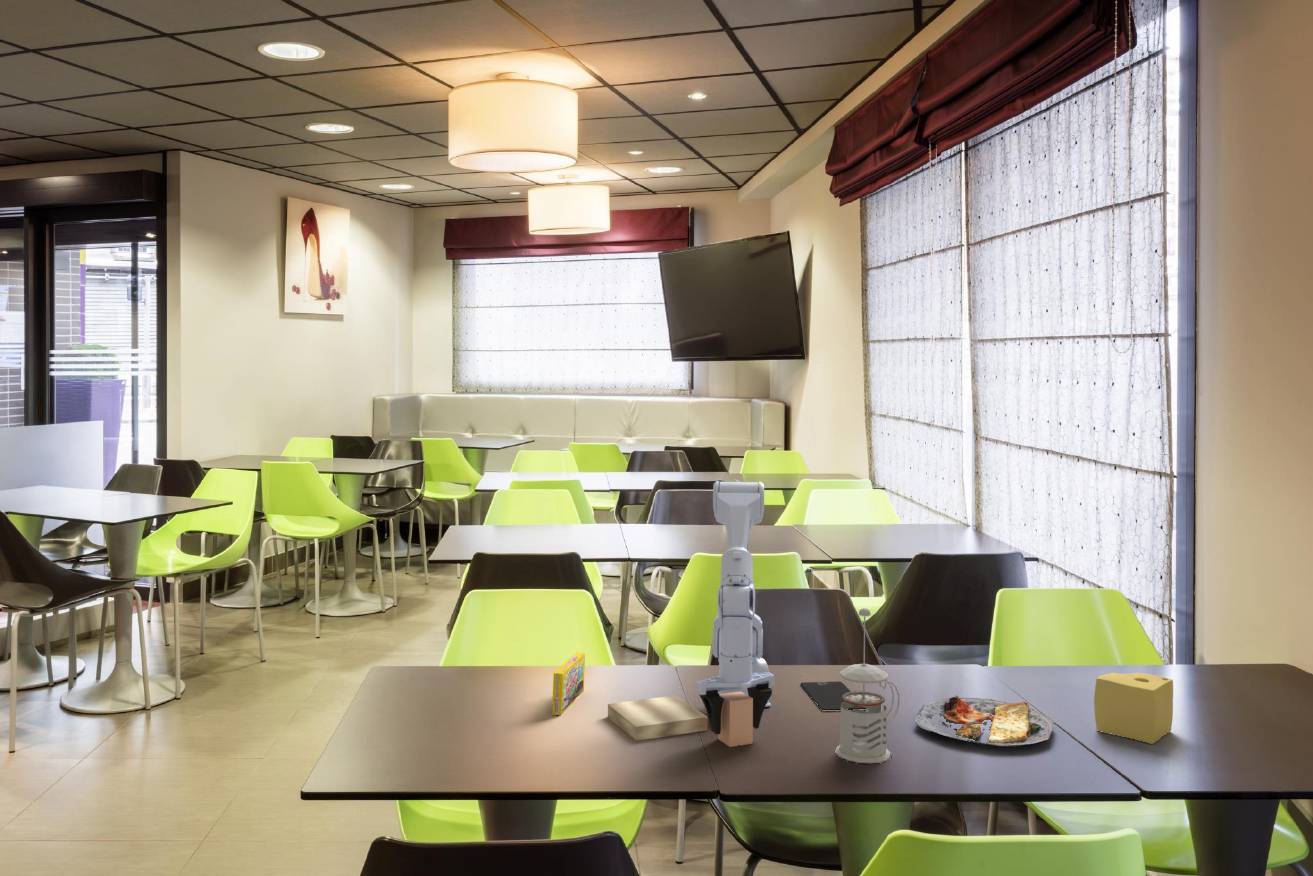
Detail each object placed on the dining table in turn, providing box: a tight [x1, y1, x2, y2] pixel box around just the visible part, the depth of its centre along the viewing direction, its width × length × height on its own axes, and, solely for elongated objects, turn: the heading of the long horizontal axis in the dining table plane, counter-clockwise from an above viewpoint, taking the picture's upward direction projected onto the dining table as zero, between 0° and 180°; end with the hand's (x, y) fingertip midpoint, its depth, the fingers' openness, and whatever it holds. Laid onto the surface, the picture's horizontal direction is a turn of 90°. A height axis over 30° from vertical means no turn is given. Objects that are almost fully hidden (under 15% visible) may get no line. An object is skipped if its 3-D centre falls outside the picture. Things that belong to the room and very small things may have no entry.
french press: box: [835, 607, 901, 762], centre depth 172 cm, size 10×12×25 cm
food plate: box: [914, 695, 1055, 748], centre depth 186 cm, size 25×23×4 cm
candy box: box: [551, 651, 586, 716], centre depth 200 cm, size 16×2×8 cm, turn 168°
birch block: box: [607, 694, 708, 742], centre depth 188 cm, size 14×14×3 cm
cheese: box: [1093, 672, 1174, 745], centre depth 184 cm, size 10×11×10 cm
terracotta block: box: [717, 691, 754, 748], centre depth 179 cm, size 4×4×8 cm
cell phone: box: [800, 680, 867, 710], centre depth 204 cm, size 9×18×1 cm, turn 6°
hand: (735, 729), depth 179 cm, fingers open, 7 cm apart
